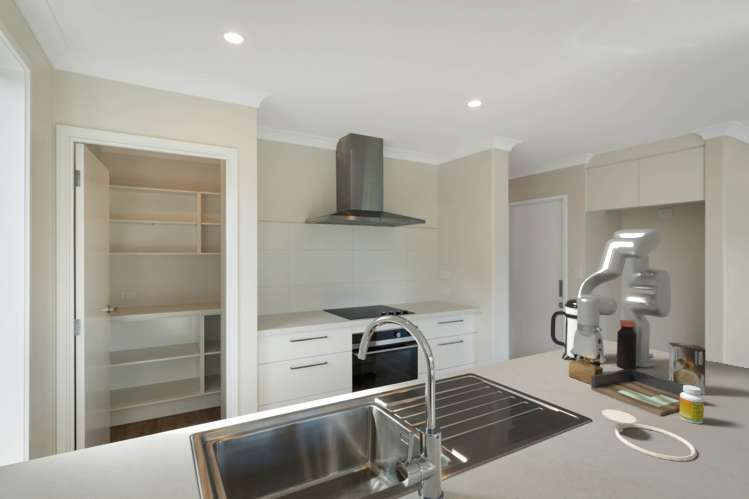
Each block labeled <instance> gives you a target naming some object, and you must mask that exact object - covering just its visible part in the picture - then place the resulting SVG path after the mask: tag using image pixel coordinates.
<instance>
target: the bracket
mask: <svg viewBox="0 0 749 499" xmlns="http://www.w3.org/2000/svg"><path fill="white" fill-rule="evenodd" d="M599 360H600V359H598V361H599ZM603 372H604V368H603V367H601V365H599V366H595V365H592V364H591V360H590V359H589V358H583V359H578V360H576V359H574V360H569V361H568V376H569V377H570V378H573V379H574V380H578V381H581V382H584V383H586V384H589V385H591V378H592V376H593V375H598V374H603Z"/></svg>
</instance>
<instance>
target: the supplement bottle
mask: <svg viewBox="0 0 749 499" xmlns="http://www.w3.org/2000/svg"><path fill="white" fill-rule="evenodd" d="M683 391H684V392H682V393H681V394H680V410H679V411H678V412H679V413H678V414H679V418H680V419H681V420H683V421H684V422H688V423H691V424H697V425H699V424H700V425H701V424H703V423H704V410H705V405H704V404H705V399H704V397H703V396H702V394H701V389H700V388H698V387H695V386H691V385H684V386H683Z"/></svg>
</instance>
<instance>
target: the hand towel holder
mask: <svg viewBox="0 0 749 499" xmlns="http://www.w3.org/2000/svg"><path fill="white" fill-rule="evenodd" d="M601 413H602V414H601V415H602V416H603V417H604V418H606V419H607V420H609V421H610V422H613V423H615V424H614V425H615V426H614V427H613V429H614V430H613V431H614V433H615V436H616V438H618V440H619V441H620V442H622V444H625V445H626V446H627V447H629V448H631V449H633V450H635V451H638V452H640V453H641V454H644V455H648V456H650V457H653V458H657V459H663V460H666V461H673V462H688V461H693V460H694V459H695V458H696V457H697V456H698V455H697V454H698V452H697V450H696V449H695V446H694V445H693V444H691V443H690V442H689V441H688V440H686V439H685V438H683V437H681V436H679V435H677V434H675V433H674V432H673V433H672V432H670V431H668V430H665V429H662V428H659V427H655V426H652V425H646V424H640V423H639V424H638V423H637V419H636V417H635V416H633V415H632V414H630V413H627V412H624V411H622V410H618V409H611V408H610V409H609V408H608V409H604V410H601ZM624 429H641V430H648V431H652V432H655V433H660V434H663V435H664V436H667V437H671V438H673V439H675V440H676V441H679V442H680V443H682V444H683V445H685V446H686V447H687V448H689V449H690V454H689V455H685V456H675V455H667V454H661V453H658V452H657V453H656V452H653V451H650V450H647V449H644V448H642V447H639V446H637V445H635V444H633V443H632V442H630V441H628V440H627V439H625V438H624V437H623V436H622V435H621V433H622V432H624Z"/></svg>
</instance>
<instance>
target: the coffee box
mask: <svg viewBox="0 0 749 499" xmlns="http://www.w3.org/2000/svg"><path fill="white" fill-rule="evenodd" d="M668 344H669V347H668V348H669V349H668V350H669V354H668V357H669V358H668V360H669V361H668V380H671V381H674V382H677V383H681V384H684V385H691V386H695V387H698V388H700V389H701V394H700V395H703V396H705V395H706V349H705V348H704V347H702V346H701V345H697V344H687V343H678V342H669V343H668Z"/></svg>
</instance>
